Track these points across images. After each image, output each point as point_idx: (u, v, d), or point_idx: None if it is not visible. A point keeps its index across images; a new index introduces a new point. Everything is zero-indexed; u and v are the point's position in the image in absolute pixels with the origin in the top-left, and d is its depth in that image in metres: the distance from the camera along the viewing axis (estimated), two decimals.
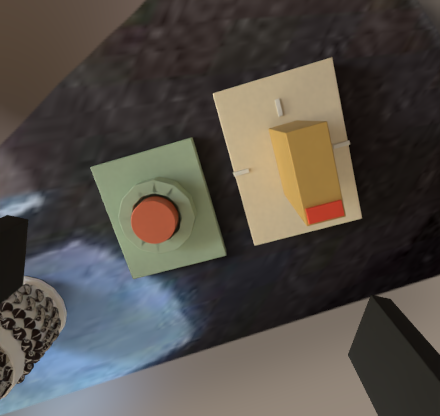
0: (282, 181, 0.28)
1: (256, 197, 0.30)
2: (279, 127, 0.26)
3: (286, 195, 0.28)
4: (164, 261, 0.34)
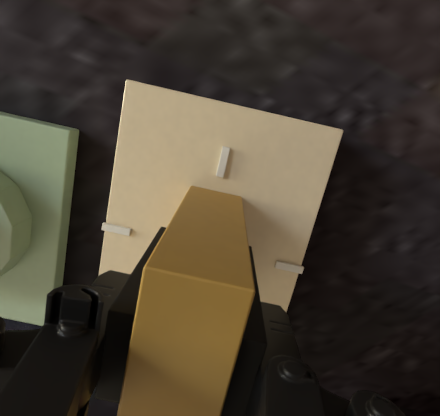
0: None
1: None
2: (196, 202, 0.13)
3: None
4: None
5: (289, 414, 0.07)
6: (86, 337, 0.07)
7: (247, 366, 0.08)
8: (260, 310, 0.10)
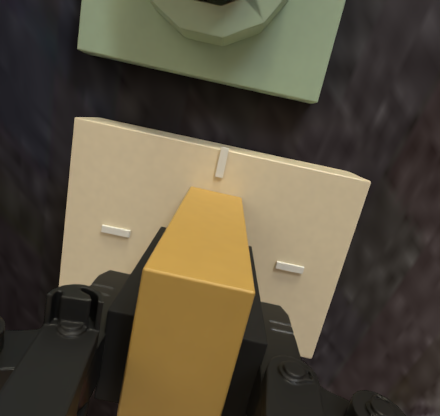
0: None
1: (165, 165, 0.16)
2: (196, 202, 0.13)
3: None
4: None
5: (289, 414, 0.07)
6: (86, 337, 0.07)
7: (247, 366, 0.08)
8: (260, 310, 0.10)
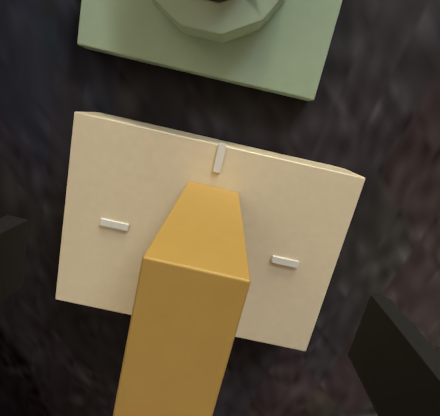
0: None
1: (163, 159, 0.16)
2: (194, 196, 0.13)
3: None
4: None
5: None
6: None
7: None
8: None
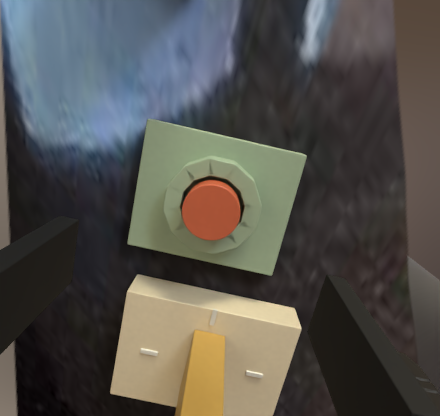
0: (181, 385, 0.27)
1: (179, 317, 0.26)
2: (198, 354, 0.24)
3: (177, 401, 0.26)
4: (152, 172, 0.25)
5: None
6: None
7: None
8: (408, 369, 0.09)
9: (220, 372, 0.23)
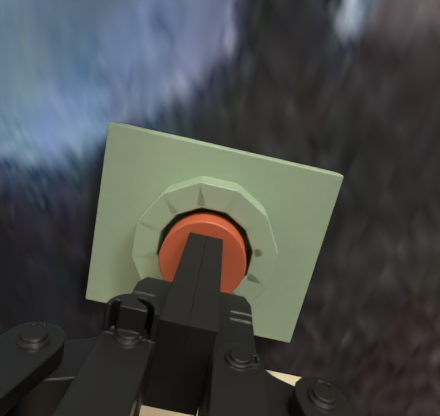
0: None
1: None
2: None
3: None
4: (117, 199, 0.17)
5: (234, 400, 0.07)
6: (141, 348, 0.07)
7: (199, 354, 0.08)
8: (218, 299, 0.10)
9: None
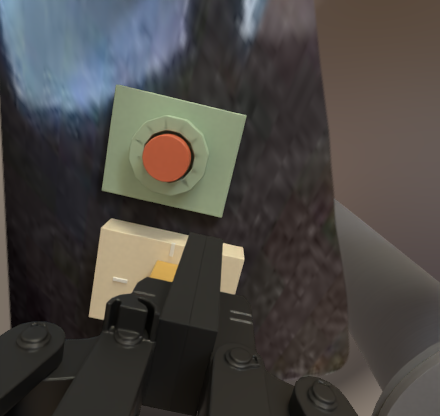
0: None
1: (144, 250, 0.32)
2: (157, 274, 0.30)
3: None
4: (120, 129, 0.31)
5: (234, 400, 0.07)
6: (141, 348, 0.07)
7: (199, 354, 0.08)
8: (218, 300, 0.10)
9: None
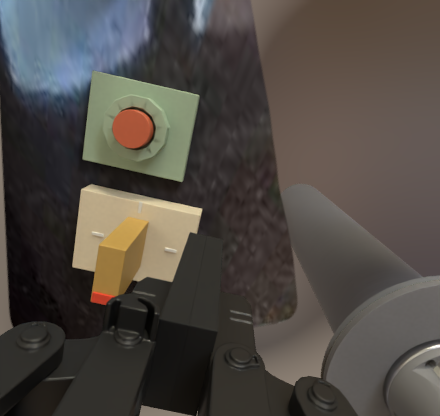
0: None
1: (117, 208, 0.39)
2: (125, 224, 0.36)
3: None
4: (97, 107, 0.38)
5: (233, 400, 0.07)
6: (141, 348, 0.07)
7: (198, 354, 0.08)
8: (218, 299, 0.10)
9: (137, 232, 0.35)
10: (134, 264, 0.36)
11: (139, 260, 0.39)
